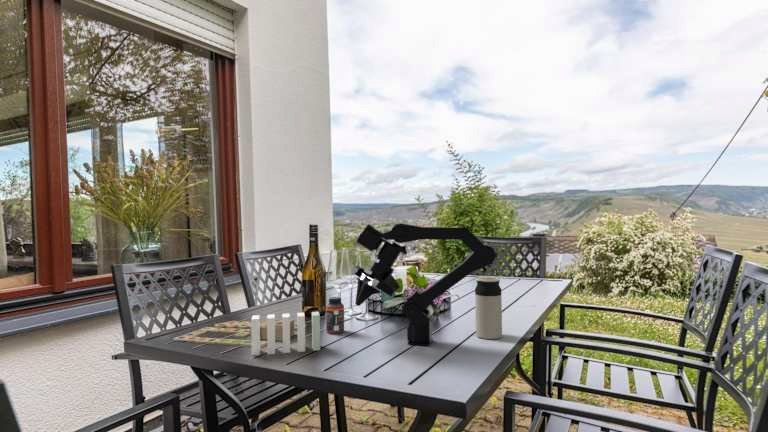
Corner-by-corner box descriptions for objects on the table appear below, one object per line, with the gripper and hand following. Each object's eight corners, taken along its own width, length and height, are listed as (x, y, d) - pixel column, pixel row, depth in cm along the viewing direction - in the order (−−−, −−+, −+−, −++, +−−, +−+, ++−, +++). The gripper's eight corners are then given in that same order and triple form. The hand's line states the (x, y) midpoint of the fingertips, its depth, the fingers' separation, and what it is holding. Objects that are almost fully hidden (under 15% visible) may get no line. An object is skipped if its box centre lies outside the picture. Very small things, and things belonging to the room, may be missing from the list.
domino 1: (260, 349, 129) (259, 315, 129) (259, 354, 124) (258, 318, 124) (253, 350, 128) (252, 315, 128) (251, 355, 123) (251, 319, 123)
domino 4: (304, 346, 131) (304, 312, 131) (305, 351, 126) (304, 316, 126) (297, 346, 131) (297, 312, 131) (298, 351, 126) (297, 316, 126)
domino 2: (275, 348, 130) (274, 314, 130) (274, 353, 125) (274, 318, 125) (268, 349, 129) (267, 314, 129) (267, 354, 124) (266, 318, 124)
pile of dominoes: (310, 327, 156) (309, 311, 156) (269, 350, 130) (269, 331, 130) (224, 322, 165) (224, 307, 166) (170, 342, 139) (170, 325, 139)
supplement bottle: (341, 334, 144) (340, 299, 144) (323, 333, 145) (323, 299, 145) (346, 329, 150) (346, 296, 150) (329, 329, 151) (329, 295, 151)
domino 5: (319, 345, 132) (318, 311, 132) (320, 350, 127) (319, 315, 127) (312, 345, 132) (311, 312, 132) (313, 350, 127) (312, 315, 127)
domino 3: (290, 347, 130) (289, 313, 130) (290, 352, 126) (289, 317, 126) (283, 348, 130) (282, 313, 130) (282, 353, 125) (282, 317, 125)
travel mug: (497, 341, 133) (496, 281, 133) (471, 337, 138) (471, 279, 138) (505, 335, 140) (504, 277, 140) (481, 331, 144) (480, 276, 144)
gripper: (419, 280, 130) (391, 327, 127) (389, 266, 146) (363, 307, 144) (392, 262, 125) (362, 310, 122) (364, 249, 141) (337, 291, 139)
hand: (357, 305), depth 132 cm, fingers closed
